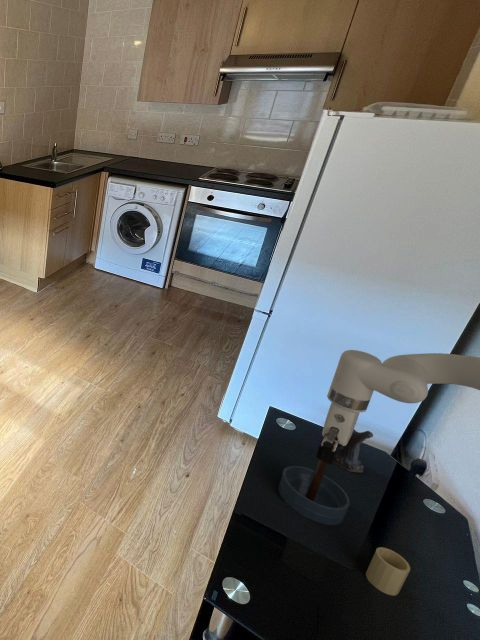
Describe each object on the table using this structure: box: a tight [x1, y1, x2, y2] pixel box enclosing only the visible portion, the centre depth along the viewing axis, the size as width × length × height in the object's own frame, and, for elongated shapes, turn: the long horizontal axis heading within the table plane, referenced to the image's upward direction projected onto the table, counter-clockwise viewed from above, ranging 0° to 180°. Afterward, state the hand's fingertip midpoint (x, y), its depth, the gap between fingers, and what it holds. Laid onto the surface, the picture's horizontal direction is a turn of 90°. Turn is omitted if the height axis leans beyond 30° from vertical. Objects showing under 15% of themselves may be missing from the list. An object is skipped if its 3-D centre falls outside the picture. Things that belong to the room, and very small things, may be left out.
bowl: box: [277, 465, 351, 526], centre depth 112 cm, size 14×14×6 cm
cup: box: [365, 546, 411, 597], centre depth 91 cm, size 5×5×8 cm
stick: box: [306, 443, 334, 501], centre depth 110 cm, size 2×2×20 cm
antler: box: [332, 429, 374, 473], centre depth 124 cm, size 12×8×25 cm
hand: (328, 452), depth 107 cm, fingers open, 9 cm apart
